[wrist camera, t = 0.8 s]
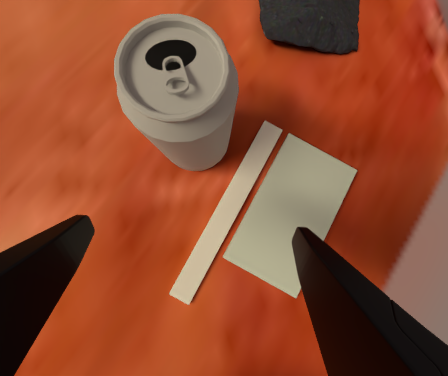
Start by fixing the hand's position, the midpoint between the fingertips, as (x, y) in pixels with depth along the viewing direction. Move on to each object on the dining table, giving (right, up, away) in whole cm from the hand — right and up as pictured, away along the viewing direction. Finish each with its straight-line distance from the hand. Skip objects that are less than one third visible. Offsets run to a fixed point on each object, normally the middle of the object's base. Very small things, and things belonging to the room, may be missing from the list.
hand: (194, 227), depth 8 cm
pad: (+9, -1, +13) cm, 16 cm away
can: (-2, +7, +14) cm, 16 cm away
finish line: (+2, -1, +13) cm, 13 cm away
